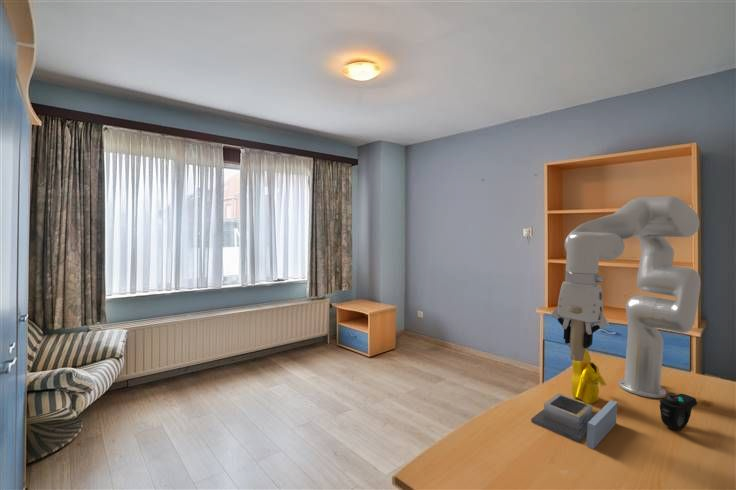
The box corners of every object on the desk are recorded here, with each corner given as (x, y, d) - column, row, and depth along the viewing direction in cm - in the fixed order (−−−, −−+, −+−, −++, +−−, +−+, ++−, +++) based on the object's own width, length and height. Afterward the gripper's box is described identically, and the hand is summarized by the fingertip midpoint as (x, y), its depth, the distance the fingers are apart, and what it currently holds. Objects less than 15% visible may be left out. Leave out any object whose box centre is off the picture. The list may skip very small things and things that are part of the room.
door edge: (609, 420, 101) (610, 400, 100) (616, 423, 99) (617, 402, 99) (586, 445, 89) (587, 422, 88) (593, 449, 88) (595, 425, 87)
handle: (593, 361, 97) (596, 307, 96) (576, 364, 95) (579, 308, 94) (577, 355, 102) (580, 303, 101) (560, 357, 99) (563, 304, 98)
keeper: (558, 401, 111) (558, 387, 111) (602, 418, 102) (603, 402, 102) (531, 421, 99) (532, 406, 99) (578, 442, 90) (579, 425, 90)
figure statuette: (583, 411, 105) (587, 338, 104) (557, 400, 112) (560, 331, 110) (611, 396, 115) (615, 329, 113) (585, 386, 121) (589, 323, 120)
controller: (654, 428, 97) (657, 392, 97) (678, 418, 103) (681, 384, 102) (673, 436, 93) (676, 399, 93) (697, 426, 99) (700, 391, 98)
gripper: (621, 281, 93) (617, 350, 94) (554, 273, 106) (551, 334, 107) (613, 284, 88) (608, 357, 89) (543, 276, 101) (540, 340, 102)
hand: (577, 344), depth 98 cm, fingers closed on handle, 4 cm apart
